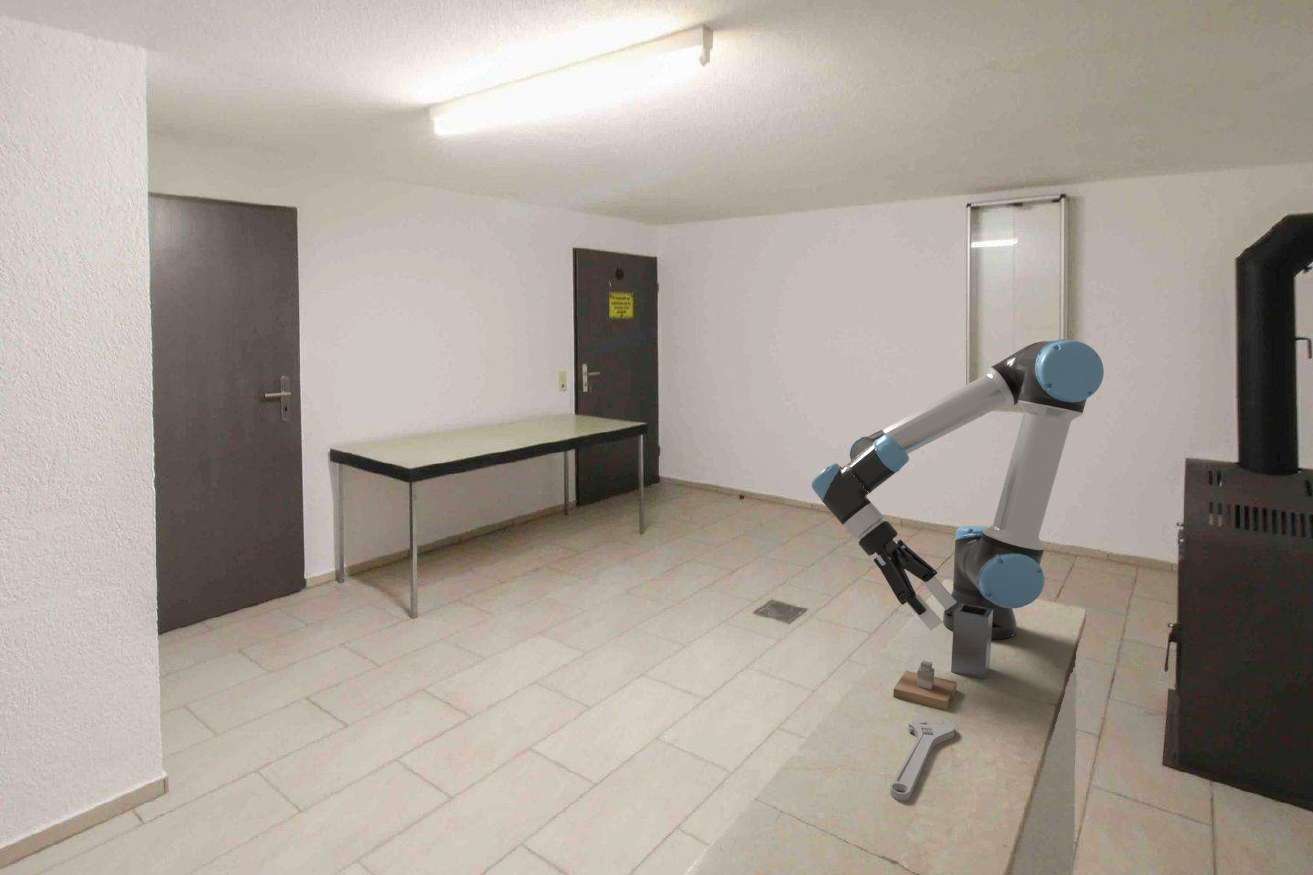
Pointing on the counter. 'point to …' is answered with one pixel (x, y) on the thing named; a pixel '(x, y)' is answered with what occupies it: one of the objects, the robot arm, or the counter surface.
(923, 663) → the drive block
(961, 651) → the grey square tube
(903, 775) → the adjustable wrench
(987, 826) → the counter surface
